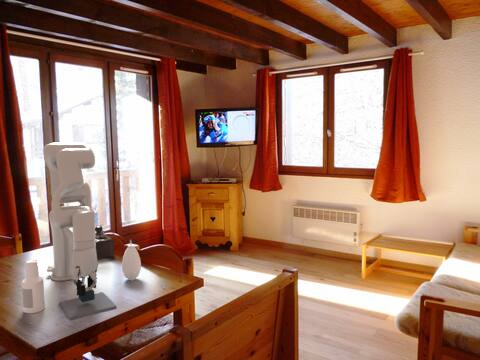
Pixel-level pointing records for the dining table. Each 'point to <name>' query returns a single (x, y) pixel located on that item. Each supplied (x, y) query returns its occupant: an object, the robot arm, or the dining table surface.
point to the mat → (86, 306)
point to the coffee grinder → (103, 244)
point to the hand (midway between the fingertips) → (86, 291)
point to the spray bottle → (33, 289)
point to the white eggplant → (131, 263)
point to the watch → (89, 290)
